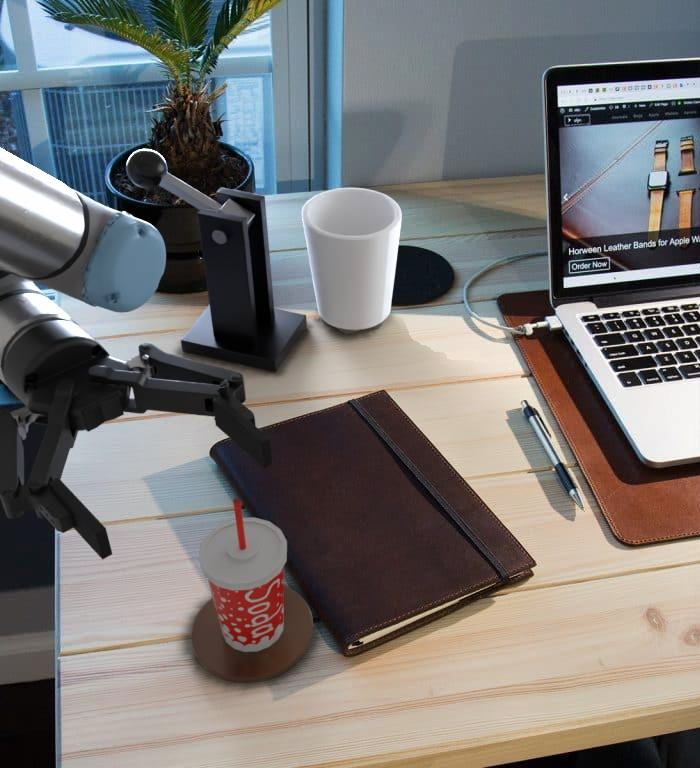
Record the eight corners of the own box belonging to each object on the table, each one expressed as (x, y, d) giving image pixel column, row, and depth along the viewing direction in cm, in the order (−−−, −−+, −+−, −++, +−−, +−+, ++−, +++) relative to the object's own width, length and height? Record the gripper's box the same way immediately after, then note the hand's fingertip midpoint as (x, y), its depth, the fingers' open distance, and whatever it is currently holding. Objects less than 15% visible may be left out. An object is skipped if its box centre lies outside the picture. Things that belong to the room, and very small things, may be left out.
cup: (351, 277, 116) (348, 176, 108) (419, 312, 112) (422, 210, 104) (287, 317, 110) (279, 213, 102) (357, 356, 106) (355, 250, 98)
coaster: (196, 694, 75) (195, 689, 75) (188, 596, 82) (188, 591, 81) (321, 669, 78) (321, 664, 77) (304, 576, 84) (304, 571, 84)
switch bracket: (182, 351, 104) (160, 215, 94) (217, 307, 110) (201, 174, 100) (276, 372, 103) (264, 236, 93) (306, 326, 109) (299, 193, 99)
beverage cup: (216, 669, 76) (194, 542, 67) (207, 603, 81) (185, 476, 72) (300, 650, 78) (289, 524, 69) (287, 587, 82) (275, 461, 73)
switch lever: (114, 181, 96) (124, 152, 93) (134, 163, 98) (144, 135, 96) (232, 252, 98) (244, 225, 95) (248, 232, 100) (260, 206, 98)
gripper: (182, 333, 96) (327, 454, 86) (-97, 459, 82) (37, 623, 71) (172, 266, 91) (324, 385, 81) (-127, 386, 77) (12, 550, 66)
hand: (190, 496), depth 76 cm, fingers open, 13 cm apart
